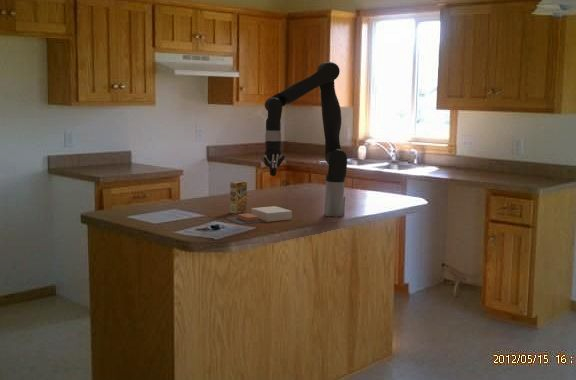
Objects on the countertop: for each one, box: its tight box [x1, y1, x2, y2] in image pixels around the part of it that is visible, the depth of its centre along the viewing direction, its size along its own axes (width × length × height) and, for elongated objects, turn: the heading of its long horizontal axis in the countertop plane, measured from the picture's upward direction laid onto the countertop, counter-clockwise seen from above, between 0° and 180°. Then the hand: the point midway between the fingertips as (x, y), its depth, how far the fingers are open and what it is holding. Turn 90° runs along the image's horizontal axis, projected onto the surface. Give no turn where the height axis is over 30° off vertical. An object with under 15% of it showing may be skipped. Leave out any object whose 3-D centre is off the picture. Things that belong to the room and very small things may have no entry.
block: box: [236, 212, 258, 222], centre depth 320 cm, size 6×9×2 cm, turn 36°
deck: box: [250, 205, 293, 223], centre depth 328 cm, size 14×14×4 cm
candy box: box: [229, 180, 248, 215], centre depth 338 cm, size 9×4×15 cm, turn 146°
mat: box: [224, 216, 266, 225], centre depth 320 cm, size 14×14×1 cm
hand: (272, 175), depth 329 cm, fingers closed
